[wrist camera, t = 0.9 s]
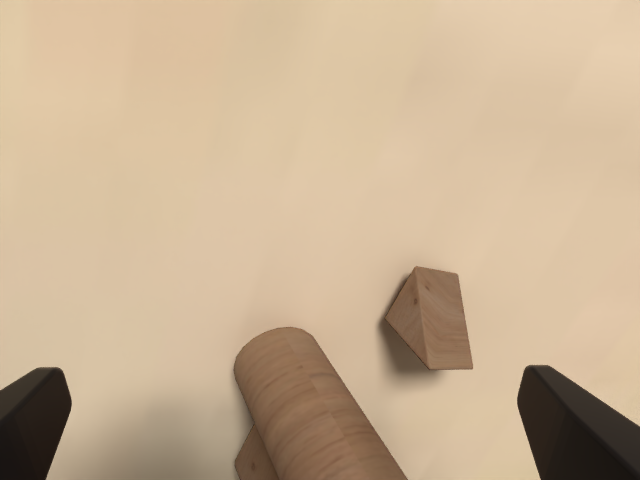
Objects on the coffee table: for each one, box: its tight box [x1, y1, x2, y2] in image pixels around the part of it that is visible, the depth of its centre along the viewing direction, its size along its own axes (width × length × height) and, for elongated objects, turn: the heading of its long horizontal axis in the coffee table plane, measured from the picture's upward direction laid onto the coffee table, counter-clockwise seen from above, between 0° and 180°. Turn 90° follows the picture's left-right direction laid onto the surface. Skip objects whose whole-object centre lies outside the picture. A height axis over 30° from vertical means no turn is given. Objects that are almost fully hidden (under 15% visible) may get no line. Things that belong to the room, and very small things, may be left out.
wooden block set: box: [234, 266, 473, 480], centre depth 21 cm, size 18×9×10 cm, turn 155°
